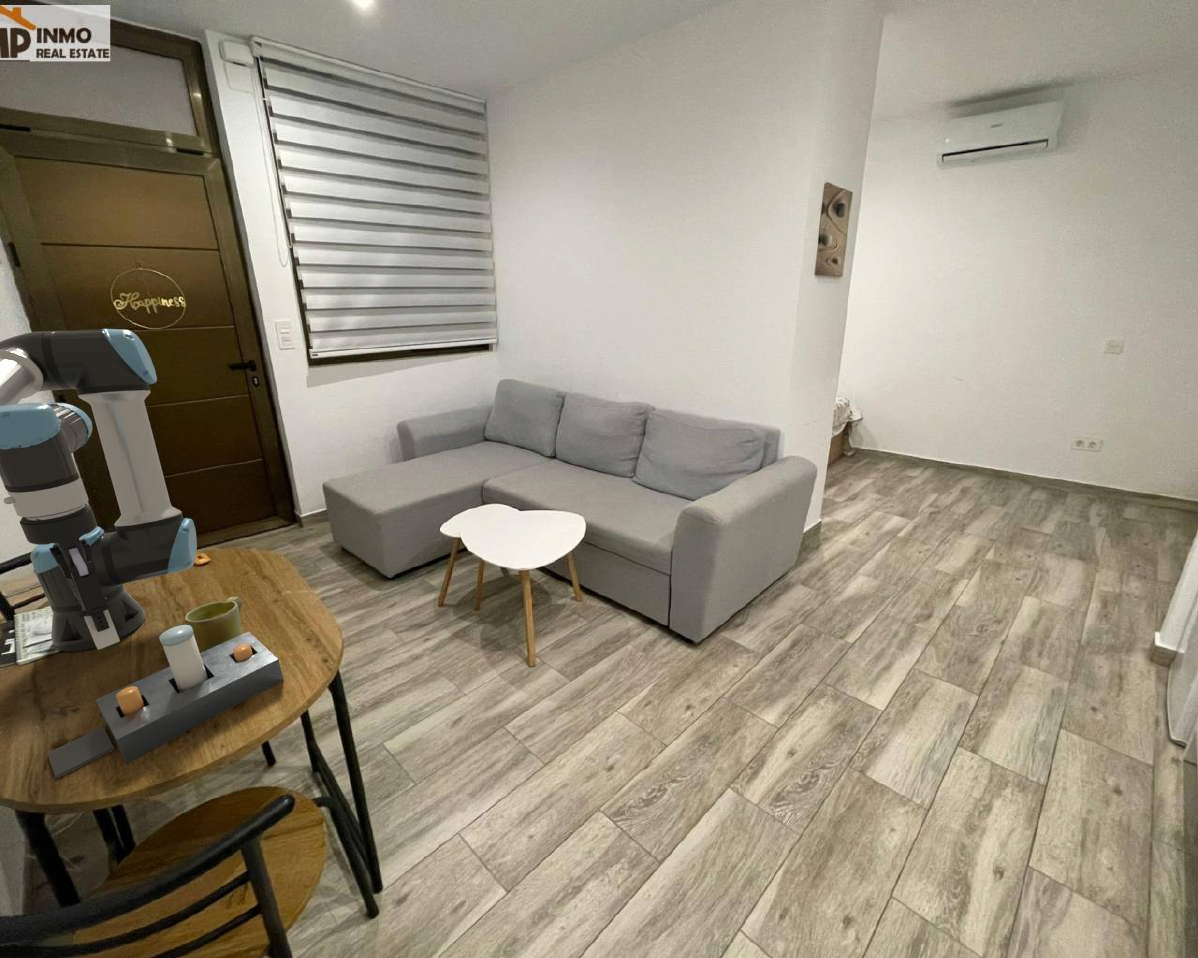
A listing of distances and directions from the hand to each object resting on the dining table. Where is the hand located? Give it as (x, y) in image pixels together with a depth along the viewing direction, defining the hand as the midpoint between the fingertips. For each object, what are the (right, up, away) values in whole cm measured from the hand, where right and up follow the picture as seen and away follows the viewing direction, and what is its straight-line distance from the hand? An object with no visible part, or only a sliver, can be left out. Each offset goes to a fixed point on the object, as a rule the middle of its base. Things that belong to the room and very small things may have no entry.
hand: (108, 643), depth 85 cm
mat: (-6, -19, +2) cm, 20 cm away
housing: (+5, -14, +13) cm, 20 cm away
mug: (-2, -8, +30) cm, 31 cm away
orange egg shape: (+10, -12, +19) cm, 24 cm away
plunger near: (0, -15, +5) cm, 16 cm away
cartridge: (+5, -14, +13) cm, 20 cm away
